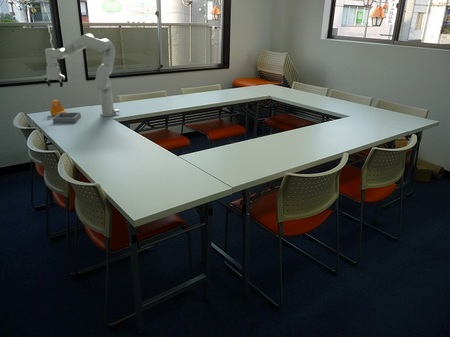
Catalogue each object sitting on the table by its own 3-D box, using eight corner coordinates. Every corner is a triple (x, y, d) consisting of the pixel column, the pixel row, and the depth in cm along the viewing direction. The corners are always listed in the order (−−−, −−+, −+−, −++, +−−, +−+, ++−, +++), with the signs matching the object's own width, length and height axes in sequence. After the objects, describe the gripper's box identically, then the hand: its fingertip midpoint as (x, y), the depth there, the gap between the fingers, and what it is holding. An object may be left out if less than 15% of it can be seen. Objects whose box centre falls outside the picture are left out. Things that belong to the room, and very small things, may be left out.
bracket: (53, 116, 296) (50, 102, 291) (50, 115, 301) (47, 100, 296) (66, 114, 302) (64, 100, 297) (64, 112, 307) (61, 98, 302)
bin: (81, 117, 295) (80, 112, 294) (75, 122, 280) (74, 117, 279) (60, 117, 294) (59, 112, 292) (53, 123, 279) (52, 118, 277)
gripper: (65, 64, 288) (68, 86, 295) (43, 63, 288) (46, 85, 295) (61, 65, 281) (64, 87, 288) (39, 64, 281) (42, 87, 288)
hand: (55, 86), depth 292 cm, fingers open, 9 cm apart
